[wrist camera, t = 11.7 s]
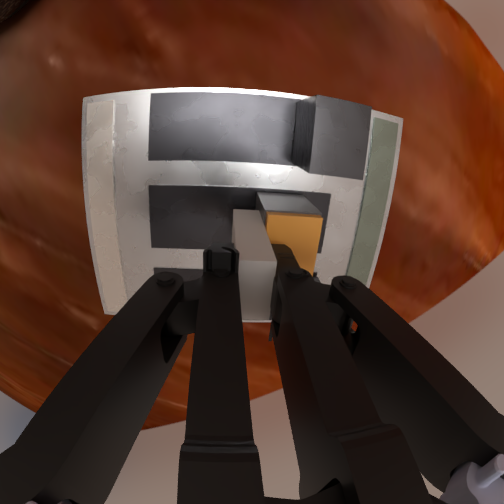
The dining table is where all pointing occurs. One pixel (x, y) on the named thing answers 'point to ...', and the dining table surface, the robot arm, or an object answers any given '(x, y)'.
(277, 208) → the block
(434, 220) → the dining table surface
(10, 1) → the planter
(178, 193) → the panel
